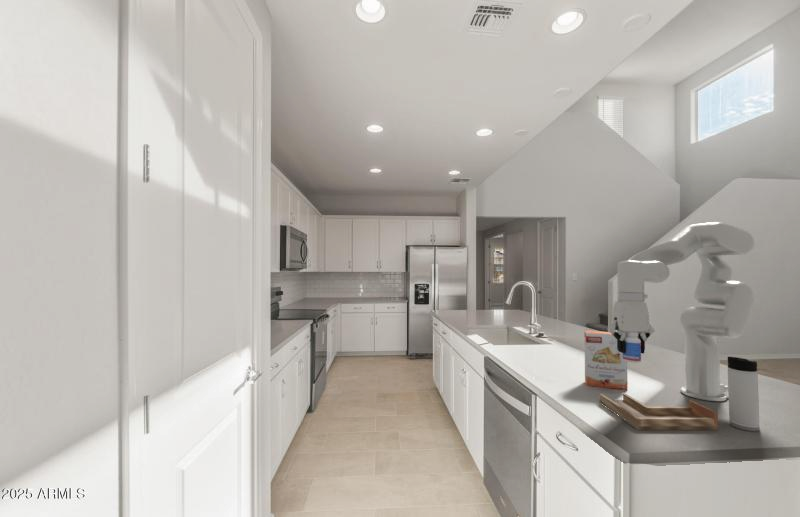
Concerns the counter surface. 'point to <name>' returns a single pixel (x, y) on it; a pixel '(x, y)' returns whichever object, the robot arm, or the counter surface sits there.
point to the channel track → (663, 415)
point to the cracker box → (604, 361)
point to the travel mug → (743, 394)
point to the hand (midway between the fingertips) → (630, 351)
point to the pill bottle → (632, 348)
